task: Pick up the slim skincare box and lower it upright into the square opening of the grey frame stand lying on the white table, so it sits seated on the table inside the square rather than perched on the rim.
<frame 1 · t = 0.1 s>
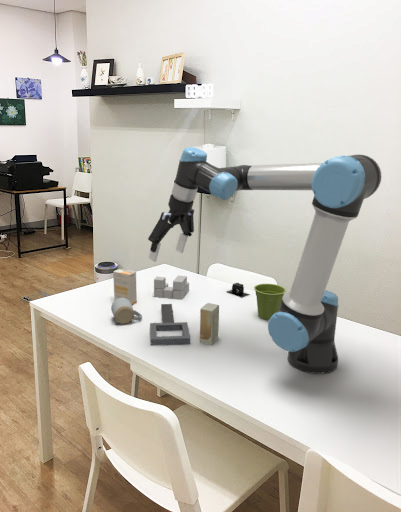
hand: (166, 255, 162), 28 cm above the table, tool tilted 20°, fingers open, 13 cm apart
plant pot: (268, 317, 185), on the table
black bracket: (237, 294, 209), on the table
ceramic mug: (126, 320, 179), on the table
supplement box: (125, 302, 196), on the table
grey frame stand: (169, 336, 166), on the table
puzzle cube: (171, 294, 207), on the table
skincare box: (209, 341, 164), on the table
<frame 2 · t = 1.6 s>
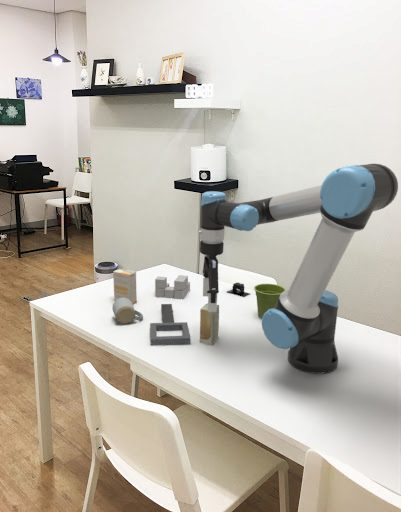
hand: (209, 303, 161), 13 cm above the table, tool pointing down, fingers open, 13 cm apart
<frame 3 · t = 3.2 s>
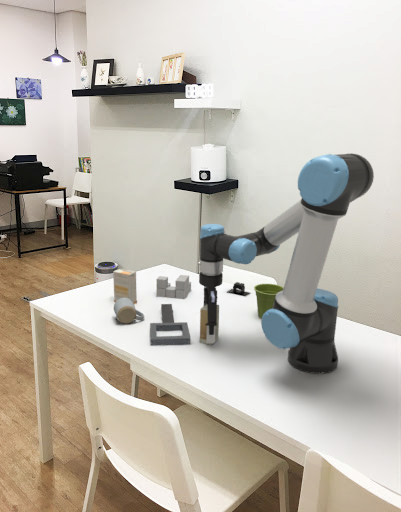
hand: (209, 337, 164), 1 cm above the table, tool pointing down, fingers closed on skincare box, 7 cm apart
skincare box: (209, 341, 164), on the table, touching gripper
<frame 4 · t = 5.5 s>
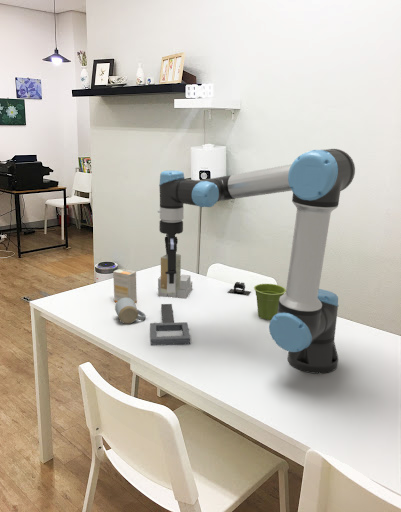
hand: (170, 287, 162), 17 cm above the table, tool pointing down, fingers closed on skincare box, 7 cm apart
skincare box: (170, 291, 162), point 16 cm above the table, touching gripper
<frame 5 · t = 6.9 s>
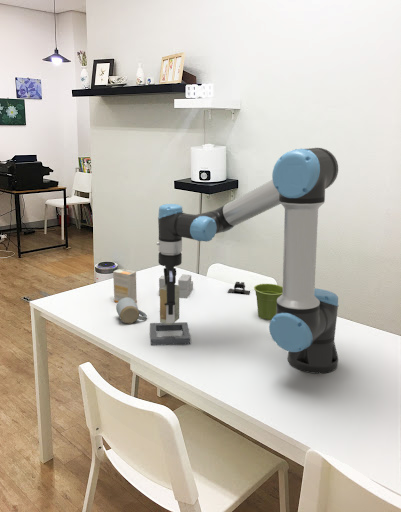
hand: (169, 317, 164), 7 cm above the table, tool pointing down, fingers closed on skincare box, 7 cm apart
skincare box: (169, 321, 165), point 5 cm above the table, touching gripper
when the fingers open (4 cm above the table, at t = 7.9 s): skincare box drops 2 cm, resting in grey frame stand.
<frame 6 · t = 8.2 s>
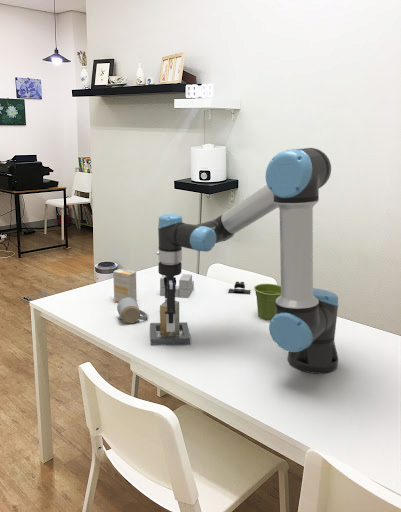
hand: (169, 323, 165), 5 cm above the table, tool pointing down, fingers open, 11 cm apart
skincare box: (169, 337, 166), resting in grey frame stand
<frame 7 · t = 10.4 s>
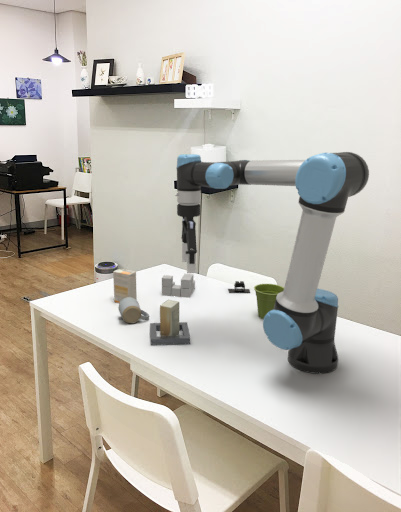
hand: (188, 267, 162), 24 cm above the table, tool pointing down, fingers open, 13 cm apart
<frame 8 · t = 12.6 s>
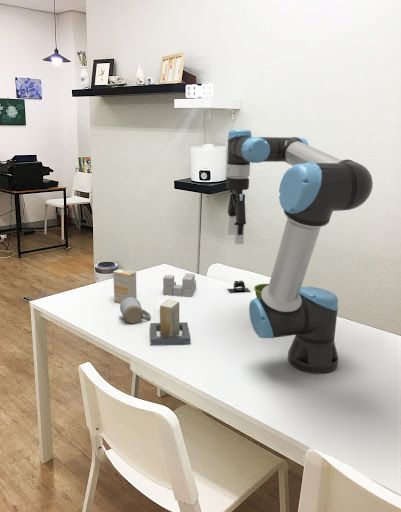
hand: (235, 239, 169), 32 cm above the table, tool pointing down, fingers open, 13 cm apart
at the end: skincare box 0.2 cm from the grey frame stand (horizontally); skincare box tilted 0°; the gripper is holding nothing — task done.
